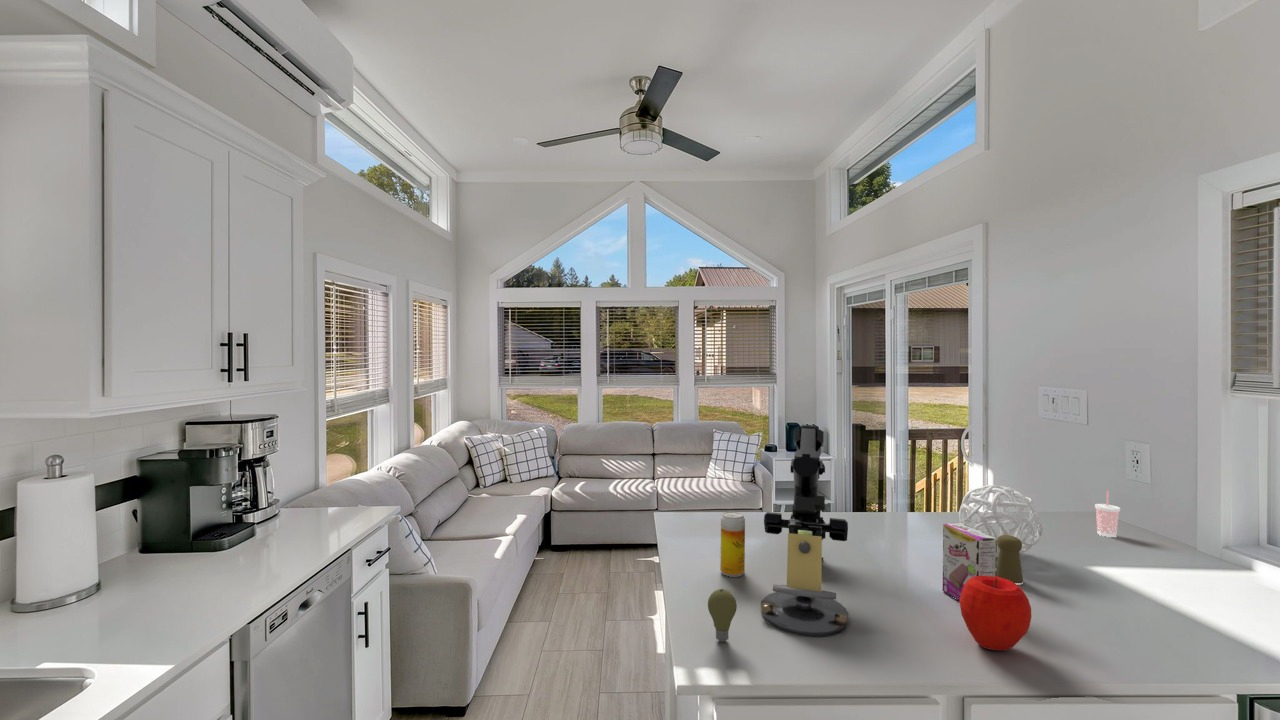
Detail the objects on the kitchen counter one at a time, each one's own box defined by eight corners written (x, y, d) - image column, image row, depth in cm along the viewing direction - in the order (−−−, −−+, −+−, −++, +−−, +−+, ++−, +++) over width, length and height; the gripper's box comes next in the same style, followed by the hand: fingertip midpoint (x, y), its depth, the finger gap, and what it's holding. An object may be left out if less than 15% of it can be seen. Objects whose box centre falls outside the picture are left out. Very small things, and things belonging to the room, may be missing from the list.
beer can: (744, 579, 138) (744, 518, 138) (719, 576, 139) (720, 517, 139) (744, 569, 144) (745, 511, 144) (720, 567, 145) (721, 510, 145)
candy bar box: (940, 592, 132) (941, 522, 131) (959, 590, 132) (960, 522, 132) (976, 614, 121) (978, 538, 120) (997, 612, 121) (998, 537, 121)
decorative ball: (1053, 573, 143) (1055, 499, 143) (965, 563, 149) (967, 492, 149) (1027, 547, 162) (1028, 482, 162) (950, 539, 168) (951, 476, 168)
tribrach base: (765, 590, 132) (765, 576, 131) (846, 601, 126) (846, 586, 126) (756, 628, 114) (756, 611, 114) (850, 643, 108) (851, 625, 108)
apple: (1003, 670, 99) (1004, 596, 99) (944, 639, 110) (945, 571, 110) (1044, 656, 104) (1046, 585, 104) (984, 627, 115) (985, 563, 115)
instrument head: (774, 589, 127) (776, 529, 132) (835, 597, 123) (835, 535, 128) (770, 591, 116) (773, 526, 120) (837, 601, 112) (837, 532, 116)
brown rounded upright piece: (1020, 578, 140) (1021, 534, 140) (1025, 587, 135) (1026, 542, 134) (992, 573, 143) (993, 531, 142) (996, 582, 137) (997, 538, 137)
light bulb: (704, 634, 111) (705, 584, 111) (732, 633, 112) (732, 583, 112) (710, 649, 106) (711, 597, 105) (739, 648, 106) (740, 596, 106)
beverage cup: (1089, 531, 177) (1090, 487, 177) (1110, 532, 176) (1111, 488, 176) (1102, 537, 171) (1103, 492, 171) (1124, 538, 170) (1125, 493, 170)
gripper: (765, 478, 134) (760, 538, 123) (848, 484, 128) (850, 548, 118) (767, 503, 141) (762, 561, 131) (846, 510, 136) (847, 572, 125)
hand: (804, 560), depth 126 cm, fingers closed
